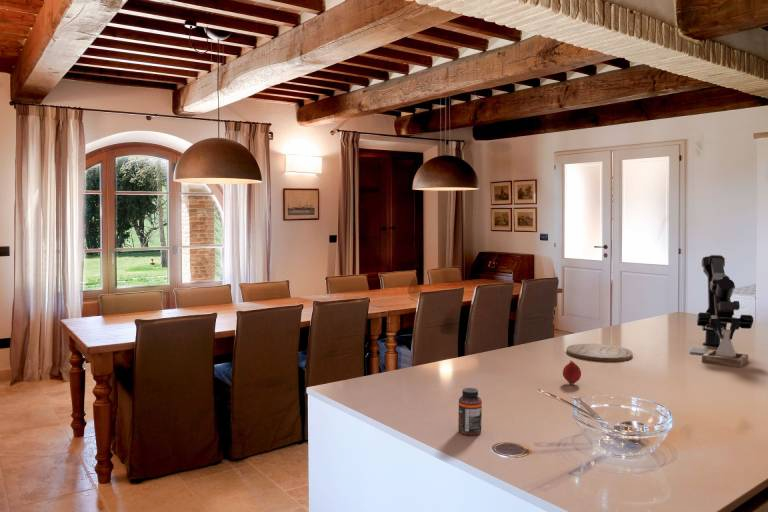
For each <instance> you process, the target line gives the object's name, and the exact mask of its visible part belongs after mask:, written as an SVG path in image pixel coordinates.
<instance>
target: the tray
mask: <svg viewBox="0 0 768 512" xmlns="http://www.w3.org/2000/svg"><path fill="white" fill-rule="evenodd" d="M717 350H718V349H711V350H709V351H708V352H706V353H705V354H703V355H701V362H702V363H708V364H713V365H721V366H728V367H733V368H734V367H735V368H742V367H743V366H745V364H746V363H748V362H749V354H746V353H740V352H735V353H736V357H732V358H729V357H720V356H716V352H717Z"/></svg>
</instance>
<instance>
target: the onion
mask: <svg viewBox="0 0 768 512" xmlns="http://www.w3.org/2000/svg"><path fill="white" fill-rule="evenodd" d="M562 377H563V379H565V380H566V381H567V383H569V385H574V384H575V383H577V382H579V380H580V379H581V377H582V370H581V368H580V367H579V366H578V364H576V363H575V362H574V361H573V359H571V360H570V359H569V363H567V364H565V366H564V367H563V370H562Z"/></svg>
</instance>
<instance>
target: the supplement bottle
mask: <svg viewBox="0 0 768 512" xmlns="http://www.w3.org/2000/svg"><path fill="white" fill-rule="evenodd" d="M482 403H483V402H482V398H481V397H480V396H479V389H477V388H475V387H464V388H463V389H462V394H461V396H460V397H459V398H458V418H457V419H458V421H457V422H458V426H457V428H458V432H459V433H460V434H462V435H464V436H469V437H470V436H478V435H479V434H481V433H482V415H483V413H482V411H483V410H482V409H483V407H482Z"/></svg>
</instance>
